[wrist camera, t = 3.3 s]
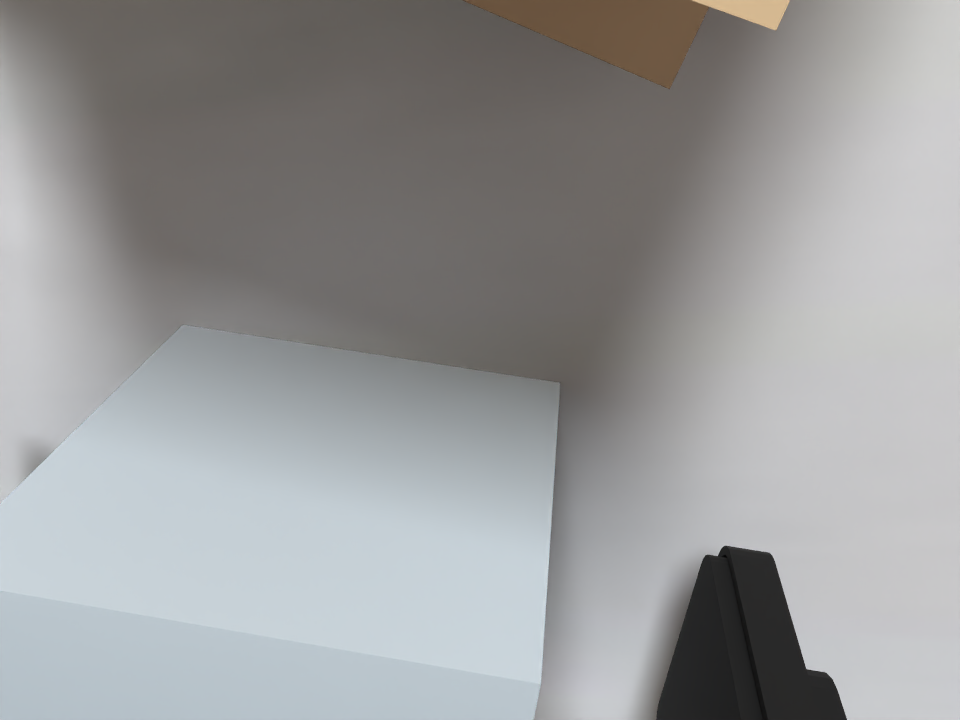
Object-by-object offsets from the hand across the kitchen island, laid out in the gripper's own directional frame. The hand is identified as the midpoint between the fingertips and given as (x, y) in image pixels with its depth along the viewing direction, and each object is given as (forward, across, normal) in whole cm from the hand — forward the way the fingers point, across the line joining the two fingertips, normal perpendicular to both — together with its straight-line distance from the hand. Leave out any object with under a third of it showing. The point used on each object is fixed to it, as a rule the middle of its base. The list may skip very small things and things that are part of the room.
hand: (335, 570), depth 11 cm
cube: (+1, 0, 0) cm, 1 cm away
